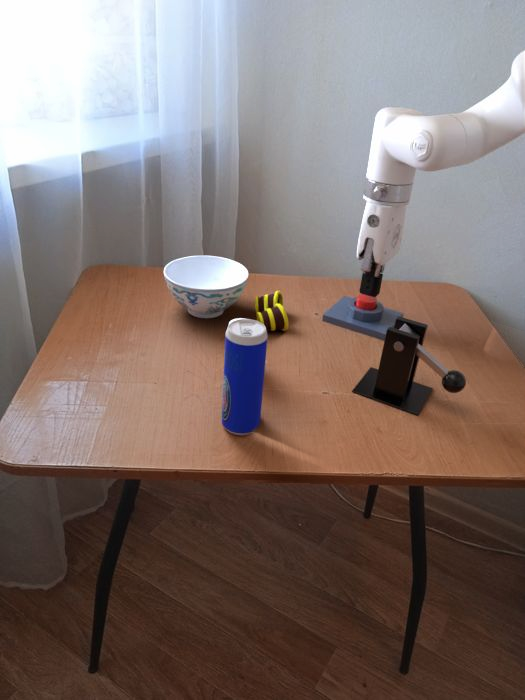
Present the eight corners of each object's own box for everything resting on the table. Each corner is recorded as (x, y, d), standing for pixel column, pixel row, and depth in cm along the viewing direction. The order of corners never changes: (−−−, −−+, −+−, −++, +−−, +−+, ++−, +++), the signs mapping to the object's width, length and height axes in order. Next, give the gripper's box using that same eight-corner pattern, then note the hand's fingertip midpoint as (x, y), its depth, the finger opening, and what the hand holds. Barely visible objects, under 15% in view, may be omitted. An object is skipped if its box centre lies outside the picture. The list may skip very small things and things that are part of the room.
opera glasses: (256, 313, 106) (252, 290, 103) (283, 309, 106) (281, 285, 103) (260, 339, 97) (256, 314, 95) (290, 335, 97) (287, 310, 95)
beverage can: (223, 411, 78) (227, 316, 70) (260, 414, 78) (268, 319, 70) (219, 435, 73) (223, 336, 66) (258, 438, 73) (267, 339, 66)
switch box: (401, 323, 105) (405, 304, 103) (384, 345, 97) (388, 325, 95) (342, 305, 110) (345, 286, 108) (321, 325, 102) (324, 305, 100)
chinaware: (168, 331, 96) (167, 290, 92) (161, 293, 108) (160, 256, 104) (253, 327, 99) (256, 287, 95) (237, 291, 112) (239, 254, 108)
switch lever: (457, 390, 80) (473, 377, 78) (451, 401, 78) (468, 388, 76) (394, 334, 82) (408, 319, 79) (386, 343, 79) (401, 328, 77)
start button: (378, 306, 102) (379, 297, 101) (371, 313, 100) (373, 304, 99) (359, 300, 104) (361, 292, 103) (352, 307, 101) (353, 298, 100)
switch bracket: (431, 394, 85) (450, 326, 79) (416, 421, 79) (435, 350, 73) (369, 372, 89) (383, 306, 83) (350, 397, 83) (364, 327, 77)
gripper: (395, 205, 84) (374, 315, 93) (422, 186, 95) (402, 285, 104) (348, 195, 87) (333, 303, 96) (380, 178, 98) (364, 275, 107)
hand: (369, 293), depth 100 cm, fingers closed
